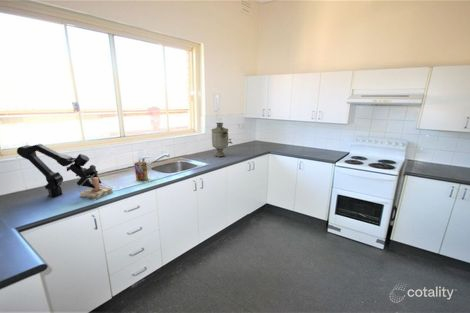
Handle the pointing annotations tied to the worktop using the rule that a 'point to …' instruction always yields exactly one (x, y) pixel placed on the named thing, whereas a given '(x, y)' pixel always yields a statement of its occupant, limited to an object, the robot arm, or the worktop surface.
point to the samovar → (220, 139)
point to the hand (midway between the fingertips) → (98, 185)
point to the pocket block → (95, 195)
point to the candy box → (141, 170)
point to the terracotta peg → (95, 184)
